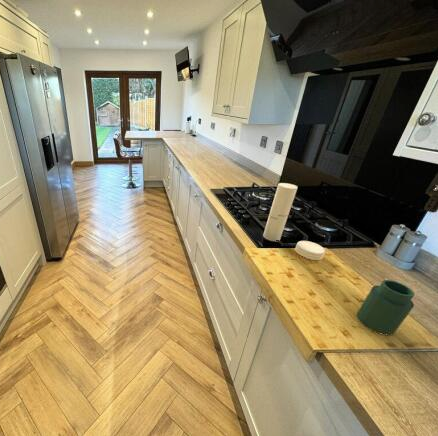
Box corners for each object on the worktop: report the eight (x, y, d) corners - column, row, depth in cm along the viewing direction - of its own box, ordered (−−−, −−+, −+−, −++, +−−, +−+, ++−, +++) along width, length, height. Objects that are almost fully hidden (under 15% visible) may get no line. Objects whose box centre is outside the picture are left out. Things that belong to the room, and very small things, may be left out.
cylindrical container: (281, 242, 105) (299, 189, 94) (263, 239, 107) (279, 186, 96) (278, 235, 111) (295, 184, 100) (262, 232, 113) (277, 182, 102)
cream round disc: (328, 261, 93) (331, 254, 91) (303, 260, 93) (306, 253, 91) (312, 247, 102) (315, 240, 100) (290, 246, 102) (292, 239, 100)
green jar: (384, 315, 69) (407, 281, 63) (401, 339, 62) (429, 303, 56) (351, 308, 71) (371, 274, 66) (364, 329, 64) (387, 294, 59)
